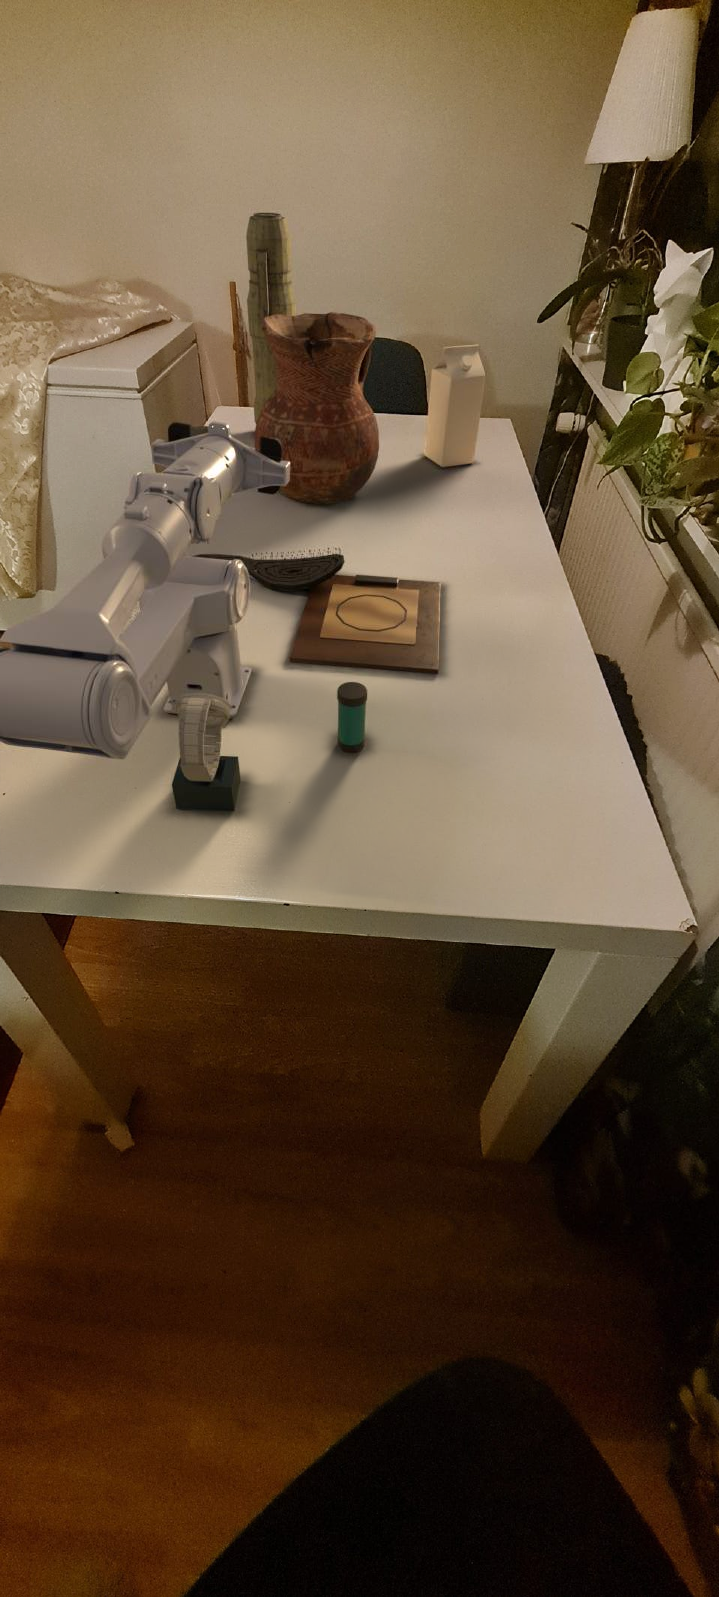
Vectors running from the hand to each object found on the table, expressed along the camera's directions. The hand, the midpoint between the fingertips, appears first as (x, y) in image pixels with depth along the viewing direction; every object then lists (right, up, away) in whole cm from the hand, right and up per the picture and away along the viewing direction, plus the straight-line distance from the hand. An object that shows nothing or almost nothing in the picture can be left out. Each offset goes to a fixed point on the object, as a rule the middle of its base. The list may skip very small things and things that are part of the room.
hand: (242, 441), depth 81 cm
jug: (+6, +14, +44) cm, 46 cm away
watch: (-1, -41, -12) cm, 42 cm away
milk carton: (+31, +25, +56) cm, 69 cm away
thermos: (-3, +33, +64) cm, 72 cm away
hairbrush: (-1, -9, +20) cm, 22 cm away
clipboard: (+15, -18, +12) cm, 26 cm away
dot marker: (+13, -35, -6) cm, 38 cm away
